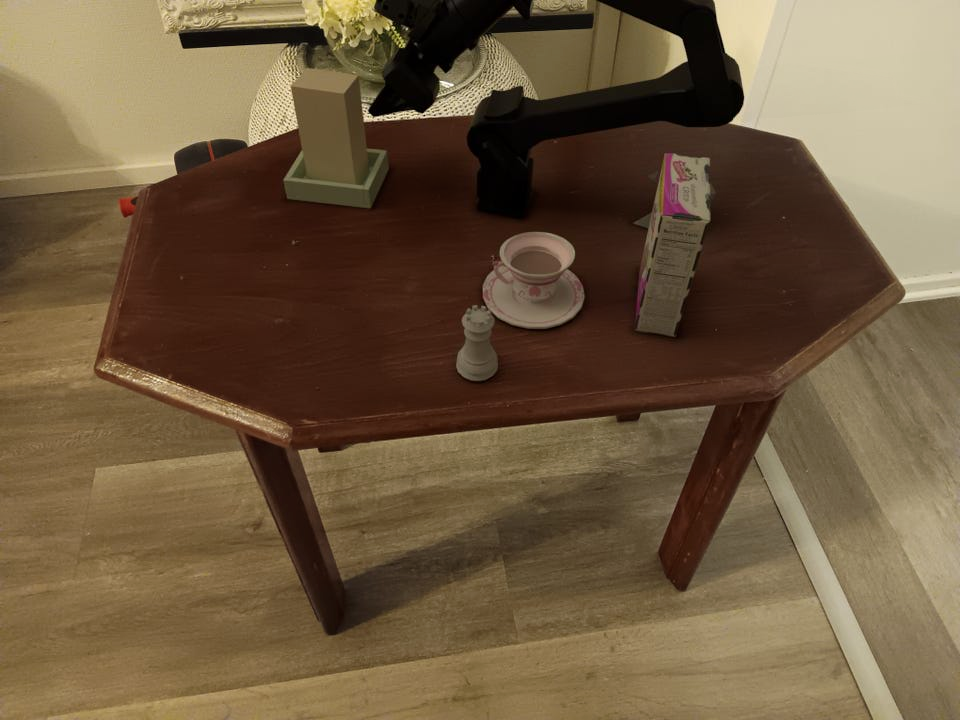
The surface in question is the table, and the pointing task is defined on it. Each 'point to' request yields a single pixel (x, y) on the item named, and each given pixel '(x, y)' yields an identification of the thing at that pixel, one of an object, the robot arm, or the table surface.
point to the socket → (338, 184)
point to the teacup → (534, 282)
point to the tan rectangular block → (331, 126)
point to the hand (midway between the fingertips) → (380, 95)
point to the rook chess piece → (477, 346)
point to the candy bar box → (673, 243)
